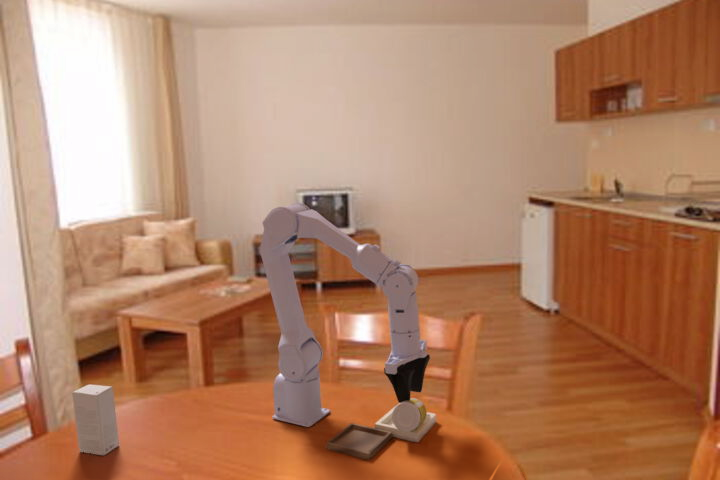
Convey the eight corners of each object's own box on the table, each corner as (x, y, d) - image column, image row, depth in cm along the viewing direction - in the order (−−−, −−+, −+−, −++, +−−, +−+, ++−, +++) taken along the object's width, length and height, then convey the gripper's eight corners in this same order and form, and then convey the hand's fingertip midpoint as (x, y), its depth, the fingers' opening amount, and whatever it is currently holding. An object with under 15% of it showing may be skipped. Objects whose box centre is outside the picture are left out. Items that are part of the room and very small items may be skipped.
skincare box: (120, 445, 109) (114, 386, 107) (103, 456, 105) (96, 395, 103) (95, 441, 111) (88, 383, 109) (78, 452, 107) (71, 392, 105)
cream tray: (375, 432, 110) (374, 423, 109) (395, 414, 117) (395, 405, 117) (417, 442, 105) (417, 433, 105) (436, 422, 113) (436, 414, 113)
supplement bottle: (406, 439, 103) (418, 430, 112) (425, 416, 103) (435, 409, 112) (385, 418, 105) (398, 410, 114) (403, 395, 104) (414, 390, 114)
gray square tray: (326, 449, 104) (326, 443, 104) (351, 428, 112) (351, 422, 112) (368, 460, 100) (368, 453, 99) (392, 438, 107) (392, 432, 107)
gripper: (407, 342, 100) (413, 414, 102) (438, 320, 113) (443, 385, 114) (372, 339, 104) (378, 409, 105) (406, 318, 116) (411, 381, 118)
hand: (410, 396), depth 110 cm, fingers open, 5 cm apart
